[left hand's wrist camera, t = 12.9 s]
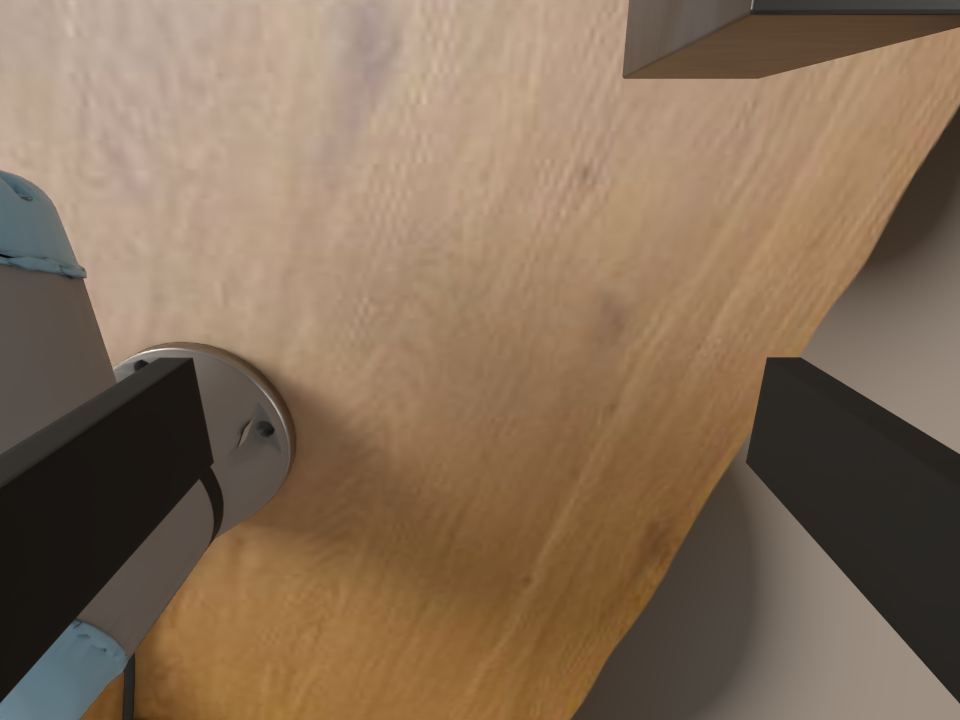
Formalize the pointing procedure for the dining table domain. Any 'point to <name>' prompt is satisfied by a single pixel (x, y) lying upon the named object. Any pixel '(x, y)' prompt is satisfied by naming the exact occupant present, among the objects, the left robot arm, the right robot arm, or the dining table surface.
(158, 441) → the left robot arm
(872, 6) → the slate bar
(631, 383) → the dining table surface
